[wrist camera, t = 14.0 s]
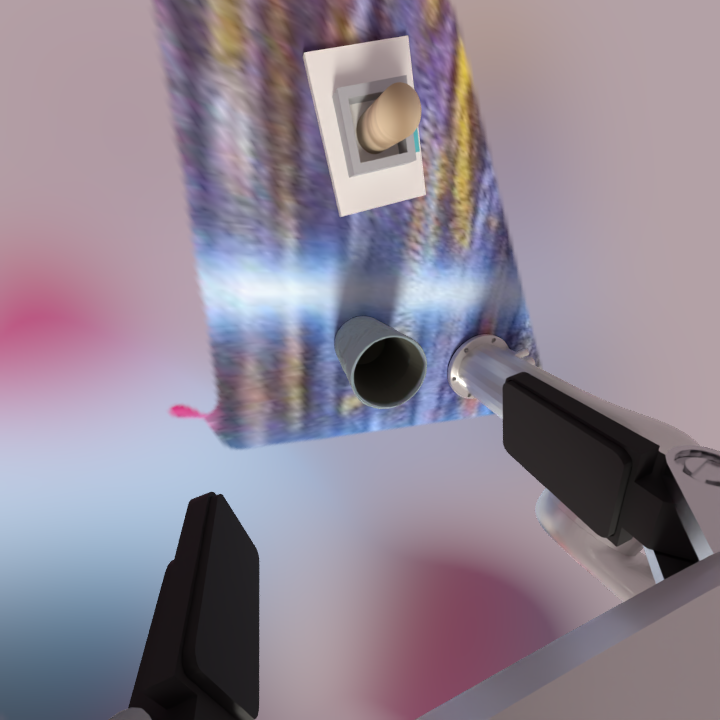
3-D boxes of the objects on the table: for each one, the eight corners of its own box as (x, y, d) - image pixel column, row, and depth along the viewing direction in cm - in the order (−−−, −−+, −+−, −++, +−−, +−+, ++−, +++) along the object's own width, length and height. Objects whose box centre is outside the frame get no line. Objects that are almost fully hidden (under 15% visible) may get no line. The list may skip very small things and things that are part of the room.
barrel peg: (387, 105, 36) (417, 77, 29) (394, 149, 38) (424, 133, 31) (352, 113, 36) (374, 87, 29) (361, 157, 38) (384, 143, 31)
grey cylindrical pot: (320, 325, 45) (339, 356, 35) (382, 299, 47) (418, 321, 36) (343, 380, 50) (365, 422, 40) (399, 355, 51) (435, 389, 41)
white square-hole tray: (404, 40, 35) (418, 22, 32) (422, 195, 42) (435, 193, 39) (303, 57, 33) (307, 39, 30) (339, 216, 40) (346, 216, 37)
